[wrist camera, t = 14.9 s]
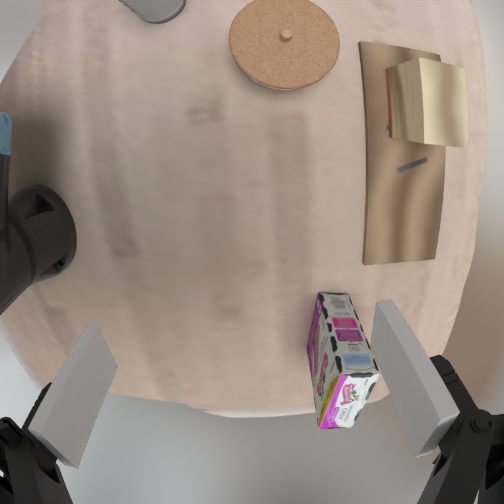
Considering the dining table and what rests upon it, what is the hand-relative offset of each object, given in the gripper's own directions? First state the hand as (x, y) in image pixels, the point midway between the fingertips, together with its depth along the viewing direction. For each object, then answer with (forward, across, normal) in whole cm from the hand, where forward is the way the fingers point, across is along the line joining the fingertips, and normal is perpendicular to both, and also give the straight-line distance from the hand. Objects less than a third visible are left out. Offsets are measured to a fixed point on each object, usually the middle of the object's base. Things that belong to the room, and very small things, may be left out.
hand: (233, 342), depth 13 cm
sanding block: (+25, +22, +11) cm, 35 cm away
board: (+26, +22, +4) cm, 34 cm away
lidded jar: (+27, +6, +17) cm, 33 cm away
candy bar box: (+26, +10, -21) cm, 35 cm away
